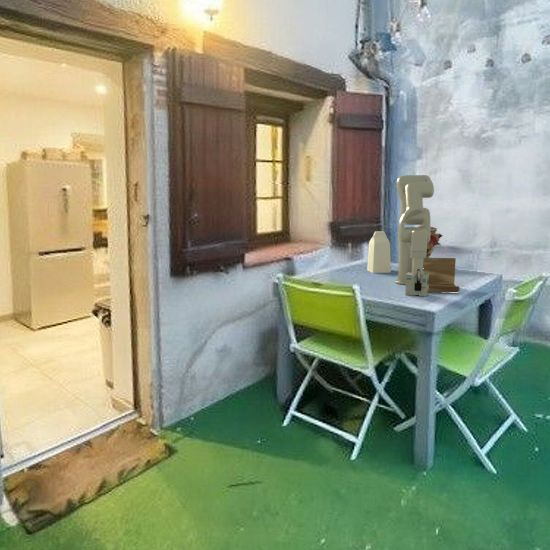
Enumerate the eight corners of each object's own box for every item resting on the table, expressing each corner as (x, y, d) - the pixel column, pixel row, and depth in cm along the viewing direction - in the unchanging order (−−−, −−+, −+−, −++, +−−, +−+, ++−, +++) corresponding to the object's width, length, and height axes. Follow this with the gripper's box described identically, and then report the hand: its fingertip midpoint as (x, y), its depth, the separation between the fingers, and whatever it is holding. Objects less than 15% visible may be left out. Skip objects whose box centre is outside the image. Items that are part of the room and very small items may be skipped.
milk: (372, 273, 298) (373, 232, 293) (367, 270, 309) (367, 231, 305) (390, 272, 300) (392, 232, 295) (384, 269, 311) (385, 230, 306)
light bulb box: (428, 294, 237) (429, 273, 235) (426, 296, 231) (427, 275, 229) (407, 292, 242) (407, 271, 240) (404, 295, 236) (405, 274, 234)
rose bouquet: (399, 265, 328) (400, 222, 323) (443, 266, 318) (445, 222, 313) (395, 271, 305) (397, 225, 299) (443, 273, 295) (445, 225, 289)
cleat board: (422, 286, 256) (423, 257, 253) (453, 287, 252) (455, 257, 250) (425, 292, 240) (427, 262, 237) (458, 293, 237) (460, 262, 234)
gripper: (409, 252, 242) (408, 285, 245) (412, 256, 225) (410, 292, 228) (424, 252, 240) (422, 285, 243) (428, 257, 224) (426, 293, 227)
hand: (417, 288), depth 236 cm, fingers closed on light bulb box, 7 cm apart
